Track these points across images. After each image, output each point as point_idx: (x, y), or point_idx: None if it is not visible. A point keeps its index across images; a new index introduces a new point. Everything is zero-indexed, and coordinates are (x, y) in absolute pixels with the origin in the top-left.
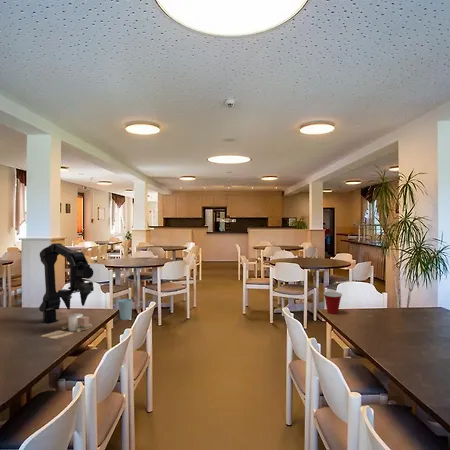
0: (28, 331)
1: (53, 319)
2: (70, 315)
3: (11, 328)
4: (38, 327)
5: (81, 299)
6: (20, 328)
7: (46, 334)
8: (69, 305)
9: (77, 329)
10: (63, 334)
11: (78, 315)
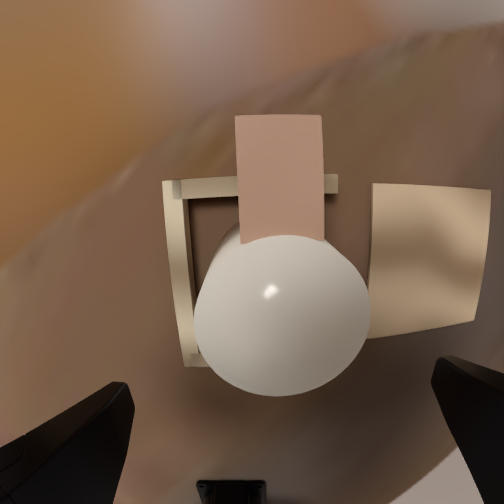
0: (407, 439)
1: (234, 490)
2: (321, 365)
3: (379, 499)
4: (338, 463)
5: (104, 499)
6: (373, 487)
7: (450, 319)
8: (495, 378)
9: (337, 180)
10: (427, 217)
11: (279, 282)
